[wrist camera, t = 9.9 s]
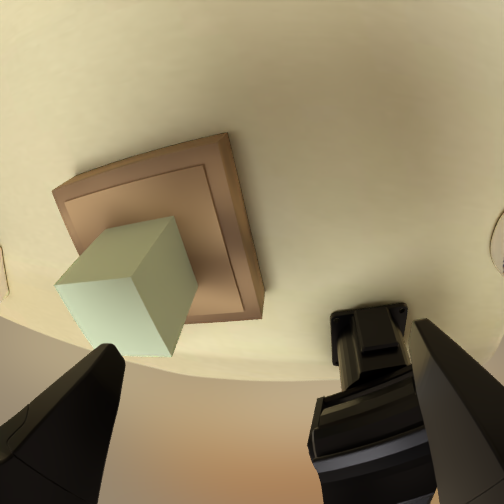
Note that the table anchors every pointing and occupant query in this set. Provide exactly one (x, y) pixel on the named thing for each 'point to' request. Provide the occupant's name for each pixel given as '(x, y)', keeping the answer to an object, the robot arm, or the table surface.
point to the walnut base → (178, 218)
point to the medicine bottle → (3, 280)
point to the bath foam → (498, 246)
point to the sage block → (132, 288)
